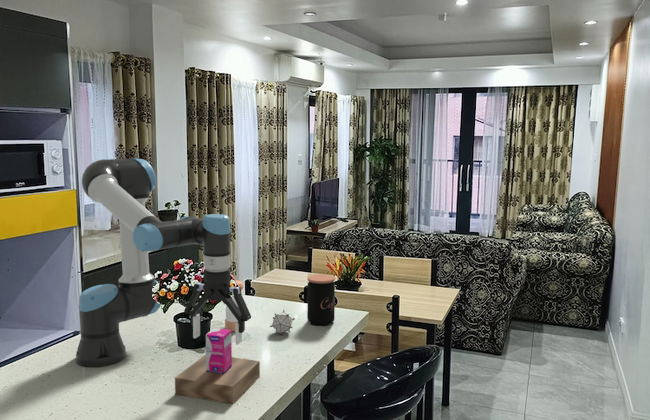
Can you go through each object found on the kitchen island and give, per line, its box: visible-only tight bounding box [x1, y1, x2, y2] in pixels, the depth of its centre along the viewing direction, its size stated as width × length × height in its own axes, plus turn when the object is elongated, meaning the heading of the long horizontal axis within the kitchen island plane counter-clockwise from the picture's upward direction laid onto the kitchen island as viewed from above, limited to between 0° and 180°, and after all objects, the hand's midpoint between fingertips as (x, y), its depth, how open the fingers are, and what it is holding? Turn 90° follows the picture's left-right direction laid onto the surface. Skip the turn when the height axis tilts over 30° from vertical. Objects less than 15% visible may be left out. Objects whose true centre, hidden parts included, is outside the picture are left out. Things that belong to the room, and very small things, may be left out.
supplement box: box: [205, 327, 233, 374], centre depth 160 cm, size 6×6×12 cm
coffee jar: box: [306, 273, 336, 327], centre depth 216 cm, size 11×11×18 cm
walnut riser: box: [174, 354, 261, 405], centre depth 161 cm, size 18×18×5 cm
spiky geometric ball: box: [269, 309, 295, 336], centre depth 204 cm, size 9×8×10 cm
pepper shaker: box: [224, 278, 245, 332], centre depth 208 cm, size 7×7×19 cm
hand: (217, 339), depth 160 cm, fingers open, 13 cm apart
